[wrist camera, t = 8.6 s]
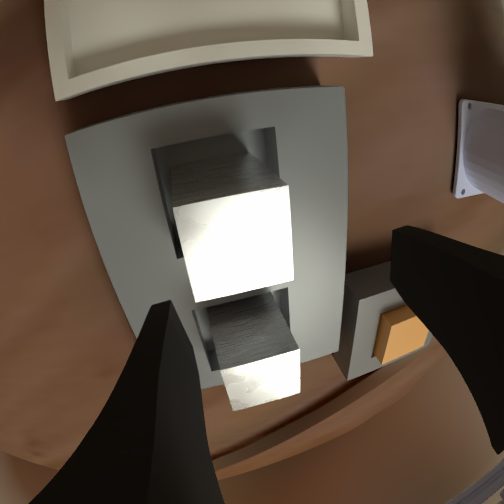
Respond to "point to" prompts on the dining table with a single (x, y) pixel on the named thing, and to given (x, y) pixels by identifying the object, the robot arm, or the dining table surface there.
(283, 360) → the block
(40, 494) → the robot arm
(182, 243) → the steel block
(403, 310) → the button
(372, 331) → the button housing
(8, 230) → the dining table surface
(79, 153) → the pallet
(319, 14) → the tray
